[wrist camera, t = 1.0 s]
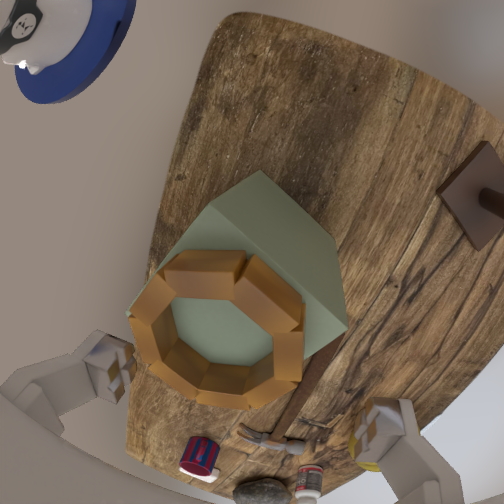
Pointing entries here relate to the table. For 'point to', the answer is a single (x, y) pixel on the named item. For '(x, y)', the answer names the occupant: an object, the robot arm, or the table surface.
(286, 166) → the table surface
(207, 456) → the cup
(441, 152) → the table surface
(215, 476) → the soap
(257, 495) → the stone
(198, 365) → the ring
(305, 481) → the pill bottle
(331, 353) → the hammer
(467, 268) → the table surface
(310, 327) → the pedestal
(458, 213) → the stand
